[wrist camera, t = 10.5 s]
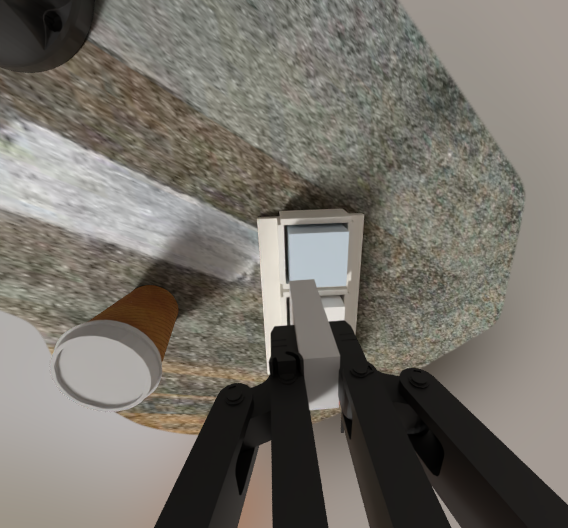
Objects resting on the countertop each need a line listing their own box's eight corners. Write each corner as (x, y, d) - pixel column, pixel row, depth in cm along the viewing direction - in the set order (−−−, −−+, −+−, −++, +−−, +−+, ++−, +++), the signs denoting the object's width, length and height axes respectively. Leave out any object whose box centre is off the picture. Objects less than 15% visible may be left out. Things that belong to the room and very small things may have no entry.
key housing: (257, 210, 32) (254, 220, 28) (362, 205, 33) (377, 215, 28) (268, 373, 41) (267, 402, 36) (350, 369, 41) (360, 396, 37)
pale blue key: (286, 223, 30) (289, 234, 26) (339, 221, 30) (349, 231, 27) (288, 272, 32) (290, 288, 28) (337, 270, 32) (346, 285, 29)
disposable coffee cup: (190, 275, 35) (152, 333, 24) (192, 339, 38) (160, 417, 27) (109, 270, 34) (31, 327, 23) (119, 336, 38) (55, 414, 27)
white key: (288, 291, 33) (291, 309, 29) (336, 289, 33) (345, 306, 30) (289, 332, 35) (292, 353, 31) (335, 329, 35) (342, 350, 32)
